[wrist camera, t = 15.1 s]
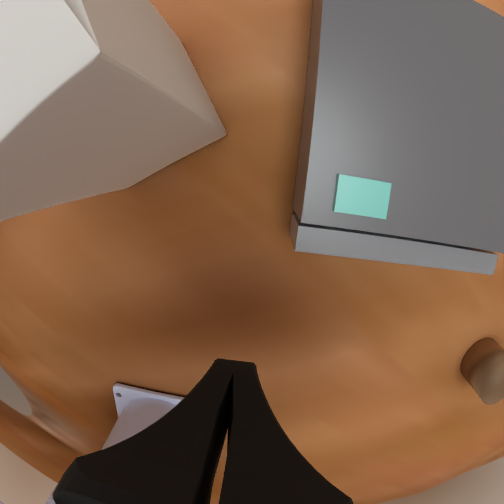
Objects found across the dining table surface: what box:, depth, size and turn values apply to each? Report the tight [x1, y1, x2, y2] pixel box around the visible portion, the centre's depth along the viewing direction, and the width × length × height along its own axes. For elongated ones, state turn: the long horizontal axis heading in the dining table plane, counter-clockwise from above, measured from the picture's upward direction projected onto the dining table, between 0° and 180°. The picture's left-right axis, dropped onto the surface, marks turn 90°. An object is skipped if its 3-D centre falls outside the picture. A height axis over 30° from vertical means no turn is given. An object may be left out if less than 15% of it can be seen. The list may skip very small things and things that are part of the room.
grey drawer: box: [290, 212, 498, 275], centre depth 15 cm, size 14×12×4 cm
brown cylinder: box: [461, 338, 504, 405], centre depth 19 cm, size 4×4×4 cm
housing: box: [292, 0, 504, 253], centre depth 14 cm, size 14×12×6 cm
